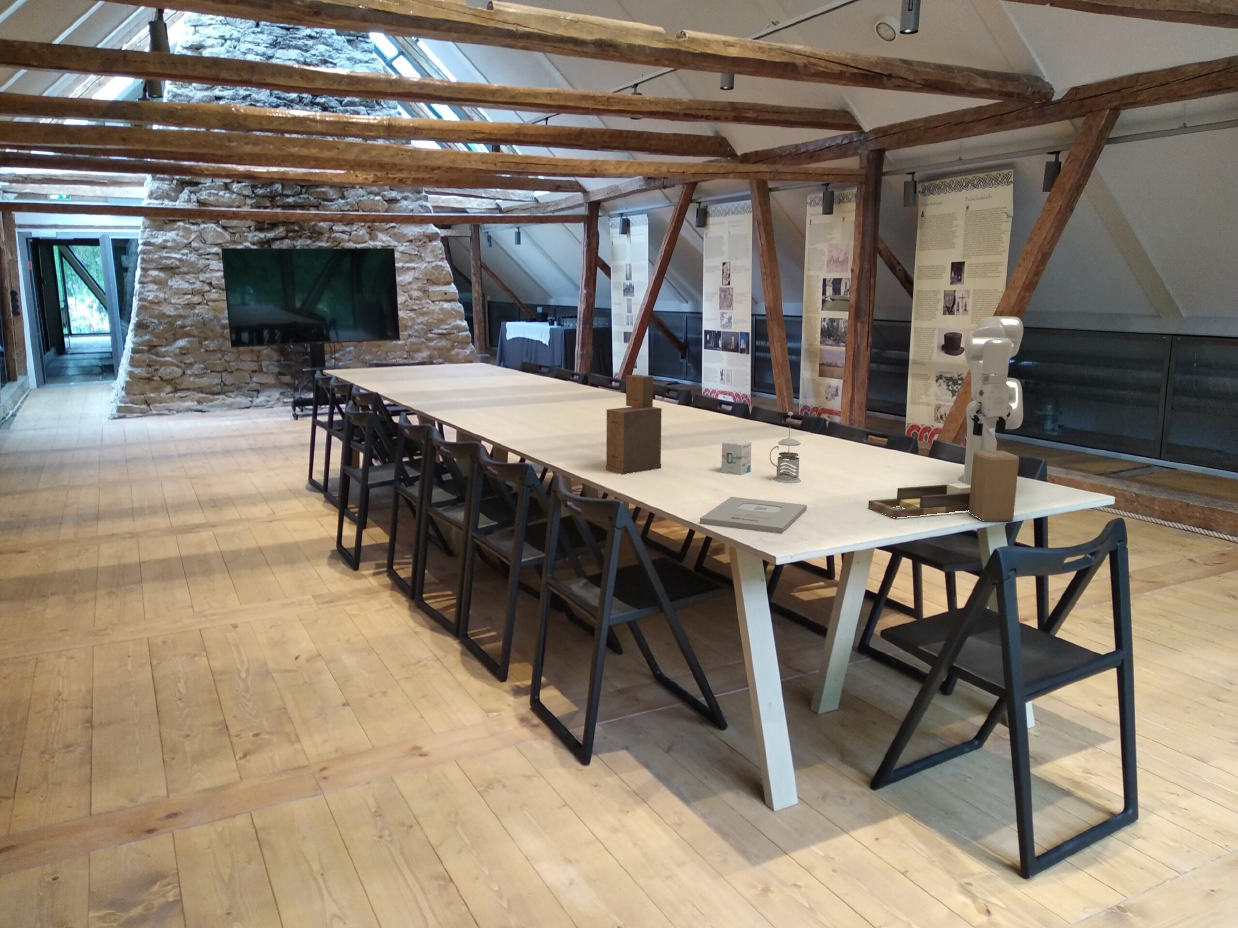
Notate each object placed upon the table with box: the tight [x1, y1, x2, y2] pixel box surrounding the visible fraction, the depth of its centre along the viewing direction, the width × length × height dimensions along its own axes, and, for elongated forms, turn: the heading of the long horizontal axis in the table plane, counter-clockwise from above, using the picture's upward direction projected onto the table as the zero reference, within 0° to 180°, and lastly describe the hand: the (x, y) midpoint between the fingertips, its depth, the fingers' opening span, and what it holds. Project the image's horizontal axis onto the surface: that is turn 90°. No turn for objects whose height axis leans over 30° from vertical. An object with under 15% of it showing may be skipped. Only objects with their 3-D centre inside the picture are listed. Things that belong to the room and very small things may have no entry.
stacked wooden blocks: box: [605, 374, 662, 475], centre depth 328 cm, size 19×14×35 cm
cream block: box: [946, 482, 971, 494], centre depth 273 cm, size 6×6×4 cm
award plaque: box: [699, 496, 808, 534], centre depth 261 cm, size 25×30×2 cm
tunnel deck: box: [867, 484, 970, 518], centre depth 270 cm, size 14×35×6 cm, turn 108°
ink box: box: [720, 439, 752, 476], centre depth 324 cm, size 8×8×12 cm
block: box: [969, 450, 1020, 522], centre depth 259 cm, size 10×10×20 cm
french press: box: [769, 411, 802, 484], centre depth 310 cm, size 10×12×25 cm
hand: (988, 434), depth 269 cm, fingers open, 9 cm apart
